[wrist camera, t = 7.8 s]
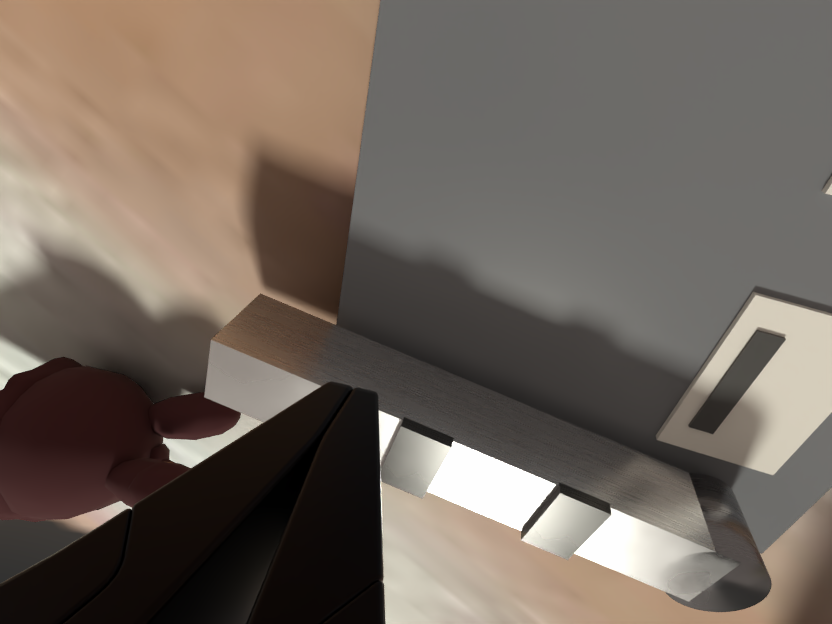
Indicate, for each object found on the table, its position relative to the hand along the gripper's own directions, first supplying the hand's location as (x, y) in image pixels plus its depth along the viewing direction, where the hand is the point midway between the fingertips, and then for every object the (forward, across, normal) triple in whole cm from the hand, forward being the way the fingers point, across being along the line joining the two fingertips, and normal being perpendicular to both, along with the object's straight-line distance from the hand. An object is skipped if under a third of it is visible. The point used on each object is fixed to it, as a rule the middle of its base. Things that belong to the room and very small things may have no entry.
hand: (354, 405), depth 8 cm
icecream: (+9, +15, +12) cm, 21 cm away
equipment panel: (+9, -6, 0) cm, 11 cm away
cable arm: (+8, -3, +6) cm, 10 cm away
